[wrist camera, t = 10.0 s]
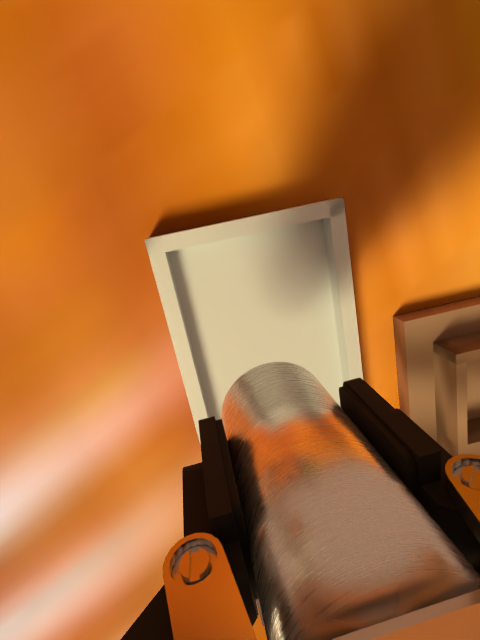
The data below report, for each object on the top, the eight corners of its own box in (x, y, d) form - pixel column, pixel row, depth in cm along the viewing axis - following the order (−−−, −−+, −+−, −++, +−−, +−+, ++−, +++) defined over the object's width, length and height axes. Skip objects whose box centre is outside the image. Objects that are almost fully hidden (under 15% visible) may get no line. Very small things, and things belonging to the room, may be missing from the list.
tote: (149, 237, 19) (144, 239, 17) (330, 199, 20) (343, 197, 18) (211, 468, 23) (212, 488, 22) (358, 432, 24) (370, 448, 22)
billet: (210, 377, 13) (260, 626, 5) (318, 349, 13) (513, 543, 5) (233, 468, 14) (300, 776, 6) (330, 441, 14) (502, 700, 7)
